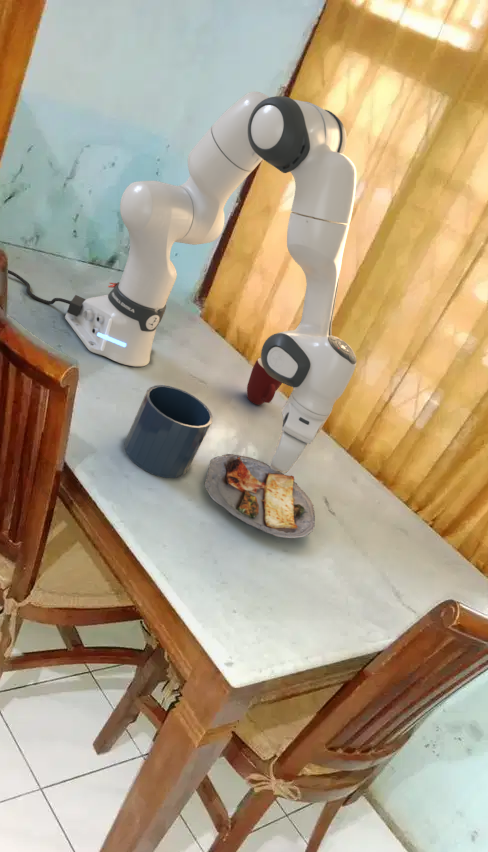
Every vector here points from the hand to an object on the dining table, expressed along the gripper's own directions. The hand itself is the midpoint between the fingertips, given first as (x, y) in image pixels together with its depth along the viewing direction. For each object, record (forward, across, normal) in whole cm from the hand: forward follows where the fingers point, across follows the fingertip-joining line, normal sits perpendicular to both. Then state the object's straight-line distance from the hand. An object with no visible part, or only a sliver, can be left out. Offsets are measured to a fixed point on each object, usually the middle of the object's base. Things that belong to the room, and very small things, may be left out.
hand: (273, 467), depth 152 cm
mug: (+3, -31, -9) cm, 32 cm away
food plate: (+3, +11, -1) cm, 12 cm away
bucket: (+3, +13, -22) cm, 26 cm away
